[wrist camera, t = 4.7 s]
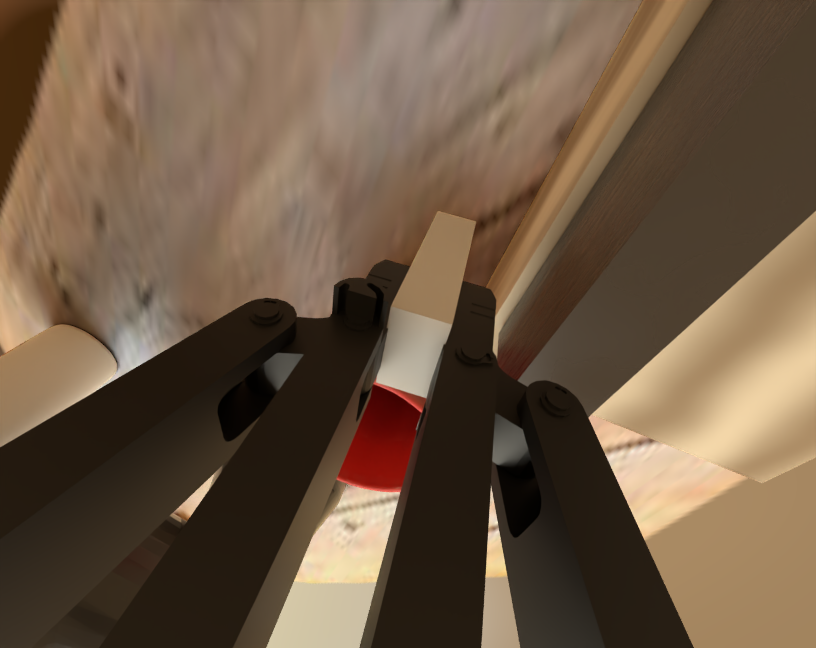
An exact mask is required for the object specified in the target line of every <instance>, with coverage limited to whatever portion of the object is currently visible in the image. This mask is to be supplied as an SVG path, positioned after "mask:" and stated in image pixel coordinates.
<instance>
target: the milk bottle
mask: <svg viewBox="0 0 816 648" xmlns="http://www.w3.org/2000/svg"><path fill="white" fill-rule="evenodd" d="M116 371H117V363H116V360H115V359H114V357H113V355H112V354H111V353H110V351H109V350H108V349H107V348H106V347H105V346H104V345H103V344H102V343H101V342H99V341H98V340H97V339H96V338H94V337H93V336H91V335H90V334H88V333H87V332H85V331H83V330H81V329H79V328H76V327H74V326H70V325H64V324H61V325H55V326H52V327H50V328H48V329H46V330H45V331H43V332H41V333H39V334H38V335H36V336H34V337H32V338H31V339H29V340H27V341H26V342H24V343H22V344H20V345H19V346H17V347H15V348H14V349H12V350H10V351H9V352H7V353H5V354H4V355H2V356H0V447H1V446H3V445H5V444H6V443H8V442H10V441H12V440H13V439H15V438H17V437H18V436H20V435H22V434H24V433H25V432H27V431H29V430H30V429H32V428H34V427H36V426H37V425H39V424H41V423H42V422H44V421H46V420H47V419H49V418H51V417H53V416H54V415H56V414H58V413H59V412H61V411H63V410H65V409H66V408H68V407H70V406H71V405H73V404H75V403H76V402H78V401H80V400H82V399H83V398H85V397H87V396H88V395H90V394H92V393H94V392H95V391H96V390H97V389H99V388H100V387H101V386H102V385H103V384H105V383H106V382H107V381H108V380H109V379H111V378H112V377H113V376H114V375H115V373H116Z"/></svg>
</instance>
